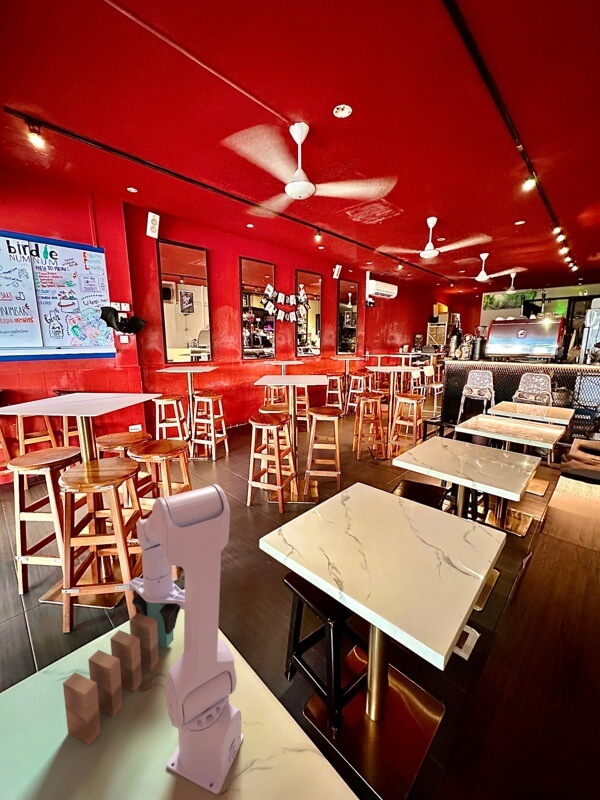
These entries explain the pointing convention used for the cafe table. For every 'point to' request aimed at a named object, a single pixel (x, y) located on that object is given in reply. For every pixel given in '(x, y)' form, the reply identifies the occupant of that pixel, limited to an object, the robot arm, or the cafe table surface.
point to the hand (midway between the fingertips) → (160, 626)
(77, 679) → the domino
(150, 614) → the domino
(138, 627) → the domino
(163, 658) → the cafe table surface
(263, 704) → the cafe table surface
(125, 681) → the domino
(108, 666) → the domino
